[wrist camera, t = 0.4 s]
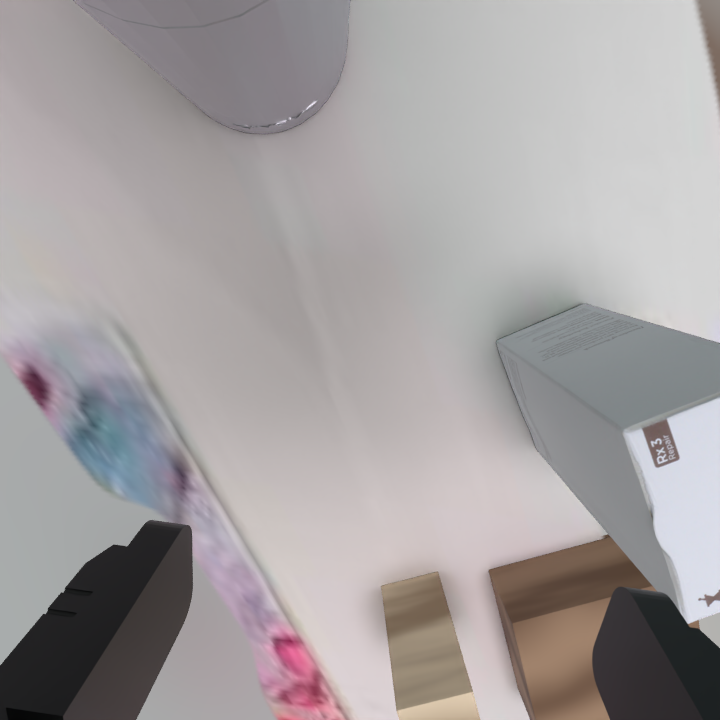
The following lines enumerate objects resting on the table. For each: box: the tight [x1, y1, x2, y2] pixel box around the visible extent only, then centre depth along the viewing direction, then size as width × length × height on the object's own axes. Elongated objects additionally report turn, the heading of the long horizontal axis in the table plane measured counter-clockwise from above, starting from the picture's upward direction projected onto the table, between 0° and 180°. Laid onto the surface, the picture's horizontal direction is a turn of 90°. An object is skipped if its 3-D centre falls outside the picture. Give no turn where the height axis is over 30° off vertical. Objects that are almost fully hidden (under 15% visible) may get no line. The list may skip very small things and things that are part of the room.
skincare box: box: [496, 304, 720, 624], centre depth 23 cm, size 8×6×15 cm
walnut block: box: [489, 534, 700, 720], centre depth 33 cm, size 11×11×5 cm
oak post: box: [381, 572, 480, 720], centre depth 30 cm, size 5×4×9 cm
